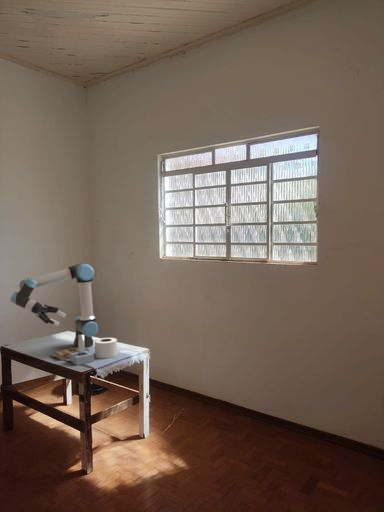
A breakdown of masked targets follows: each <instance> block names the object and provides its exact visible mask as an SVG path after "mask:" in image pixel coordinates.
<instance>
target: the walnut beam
mask: <svg viewBox="0 0 384 512" xmlns="http://www.w3.org/2000/svg"><path fill="white" fill-rule="evenodd" d="M85 350H87V351H89V352H90V349H89V347H85ZM76 352H79V350H78V347H76V348H75V347H70V348H67V349H62V350H61V349H60V350H56V351H55V358H56V359H58V360H60V361H65V360H70V354H71V353H76Z"/></svg>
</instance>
